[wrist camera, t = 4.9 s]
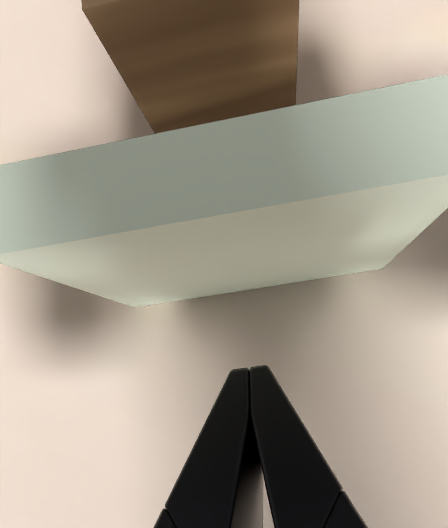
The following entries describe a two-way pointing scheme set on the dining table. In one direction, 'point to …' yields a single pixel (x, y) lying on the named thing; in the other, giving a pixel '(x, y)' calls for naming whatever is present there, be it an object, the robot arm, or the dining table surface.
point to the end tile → (235, 199)
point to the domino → (201, 56)
